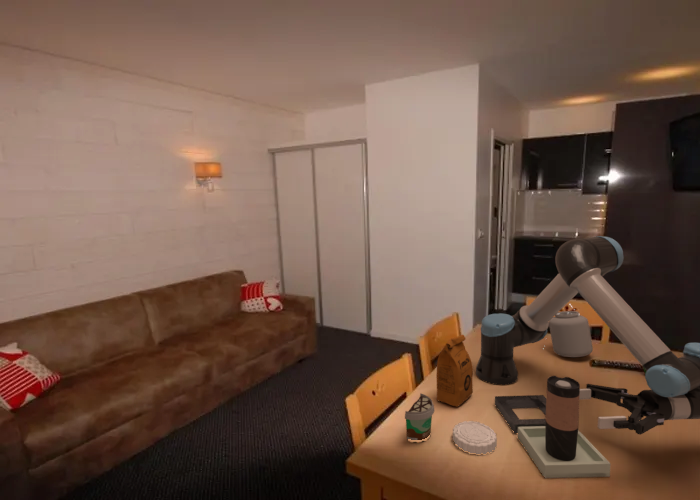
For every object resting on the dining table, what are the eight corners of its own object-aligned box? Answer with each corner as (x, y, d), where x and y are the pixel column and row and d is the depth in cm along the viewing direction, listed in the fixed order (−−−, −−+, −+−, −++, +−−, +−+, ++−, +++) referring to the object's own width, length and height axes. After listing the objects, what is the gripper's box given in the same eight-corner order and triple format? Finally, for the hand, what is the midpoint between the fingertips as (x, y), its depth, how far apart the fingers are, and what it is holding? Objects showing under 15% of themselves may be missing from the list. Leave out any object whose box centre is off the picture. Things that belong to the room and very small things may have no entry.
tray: (517, 438, 112) (517, 426, 111) (573, 436, 111) (573, 425, 111) (544, 478, 96) (545, 465, 95) (609, 476, 96) (610, 463, 95)
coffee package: (477, 397, 134) (478, 336, 131) (457, 411, 126) (457, 347, 123) (452, 387, 142) (453, 329, 139) (432, 400, 134) (432, 339, 131)
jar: (536, 351, 171) (538, 296, 168) (555, 343, 179) (558, 290, 175) (580, 366, 155) (583, 305, 152) (599, 357, 163) (602, 299, 159)
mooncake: (443, 438, 113) (443, 427, 113) (473, 425, 119) (473, 414, 118) (475, 462, 103) (475, 449, 102) (506, 447, 108) (506, 435, 108)
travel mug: (564, 465, 98) (568, 392, 96) (538, 448, 105) (540, 379, 102) (583, 455, 102) (587, 384, 99) (556, 439, 109) (559, 372, 106)
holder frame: (494, 404, 129) (494, 396, 129) (542, 403, 129) (543, 395, 129) (514, 433, 114) (514, 424, 113) (569, 432, 113) (569, 423, 113)
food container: (425, 451, 107) (425, 417, 106) (405, 444, 111) (404, 411, 109) (440, 428, 118) (440, 397, 116) (421, 422, 121) (421, 392, 120)
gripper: (704, 448, 90) (614, 452, 90) (626, 393, 115) (555, 396, 114) (707, 418, 89) (615, 422, 89) (628, 369, 114) (556, 372, 113)
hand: (581, 407), depth 101 cm, fingers open, 13 cm apart
